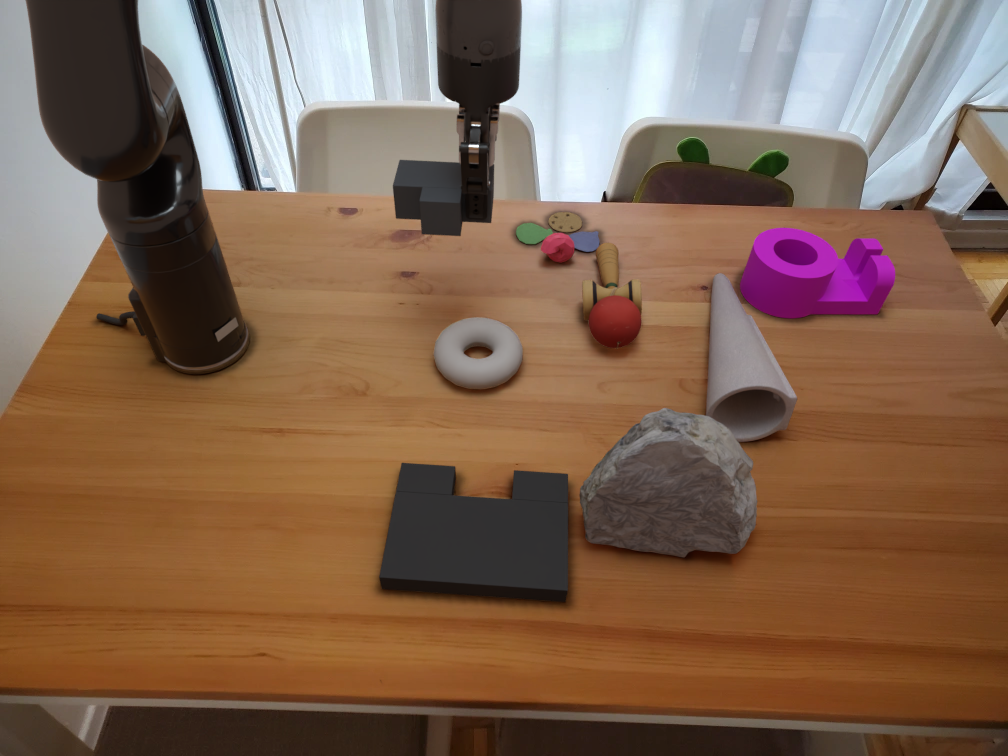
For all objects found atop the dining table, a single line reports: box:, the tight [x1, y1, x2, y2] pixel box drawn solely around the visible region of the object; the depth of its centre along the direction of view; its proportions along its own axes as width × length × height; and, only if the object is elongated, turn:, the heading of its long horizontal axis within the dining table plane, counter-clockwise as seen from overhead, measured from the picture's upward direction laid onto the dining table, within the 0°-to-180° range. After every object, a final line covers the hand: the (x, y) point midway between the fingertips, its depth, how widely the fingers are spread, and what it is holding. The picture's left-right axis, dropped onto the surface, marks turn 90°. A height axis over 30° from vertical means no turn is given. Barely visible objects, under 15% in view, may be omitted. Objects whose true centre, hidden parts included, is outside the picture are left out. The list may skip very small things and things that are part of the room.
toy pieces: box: [515, 211, 600, 264], centre depth 96 cm, size 12×11×4 cm
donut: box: [432, 316, 524, 390], centre depth 80 cm, size 10×3×10 cm
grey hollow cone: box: [705, 272, 798, 443], centre depth 82 cm, size 8×9×26 cm
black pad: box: [378, 462, 569, 603], centre depth 66 cm, size 16×12×2 cm
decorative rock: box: [578, 407, 758, 558], centre depth 62 cm, size 16×7×15 cm, turn 82°
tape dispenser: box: [739, 227, 896, 319], centre depth 89 cm, size 16×10×6 cm, turn 91°
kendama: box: [581, 242, 643, 350], centre depth 87 cm, size 8×6×18 cm
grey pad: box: [392, 159, 495, 237], centre depth 74 cm, size 10×8×4 cm
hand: (478, 202), depth 76 cm, fingers closed on grey pad, 5 cm apart
